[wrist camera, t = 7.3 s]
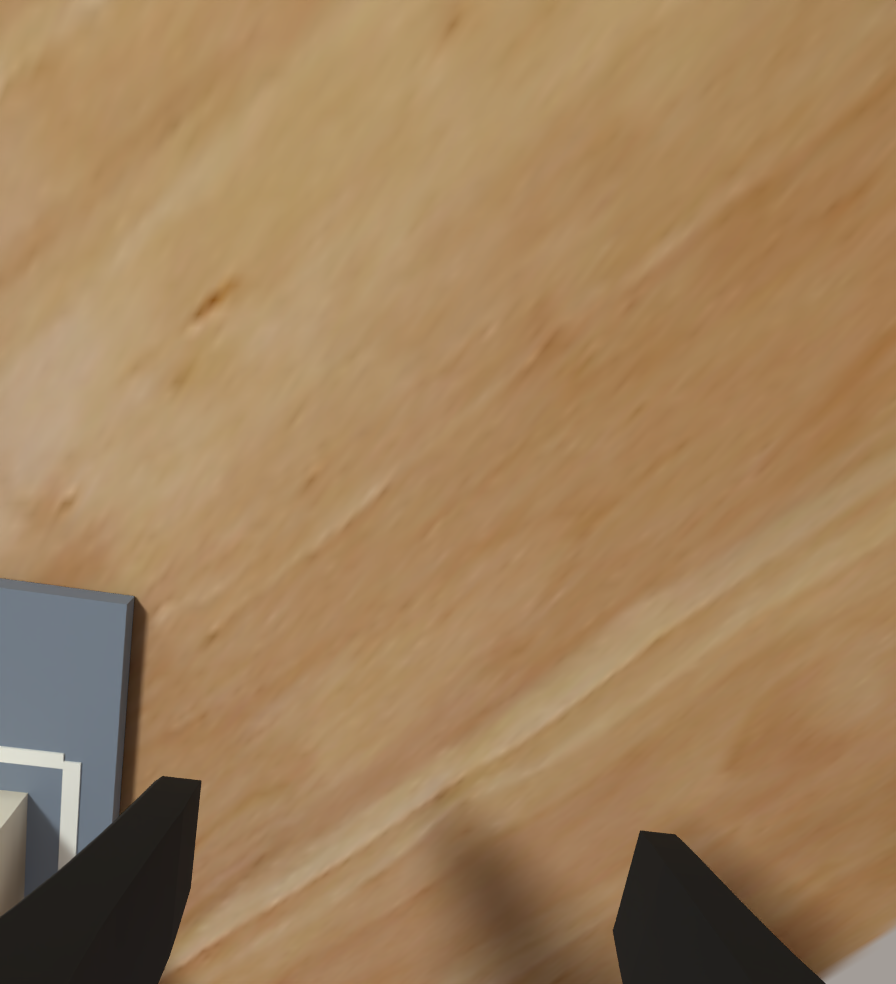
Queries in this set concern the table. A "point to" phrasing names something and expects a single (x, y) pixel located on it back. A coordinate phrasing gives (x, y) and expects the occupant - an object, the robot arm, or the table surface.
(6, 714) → the board
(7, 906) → the birch base block
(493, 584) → the table surface
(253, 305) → the table surface
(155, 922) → the robot arm
